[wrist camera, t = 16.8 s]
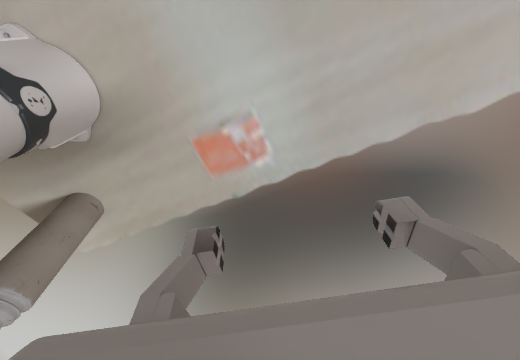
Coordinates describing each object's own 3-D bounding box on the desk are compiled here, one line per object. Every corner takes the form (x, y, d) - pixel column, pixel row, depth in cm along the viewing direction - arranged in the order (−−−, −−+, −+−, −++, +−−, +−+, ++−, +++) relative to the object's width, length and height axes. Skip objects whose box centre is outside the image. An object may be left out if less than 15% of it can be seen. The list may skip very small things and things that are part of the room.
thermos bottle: (110, 216, 55) (12, 352, 32) (78, 219, 55) (-43, 358, 32) (93, 191, 50) (-34, 328, 27) (58, 194, 50) (-99, 335, 27)
